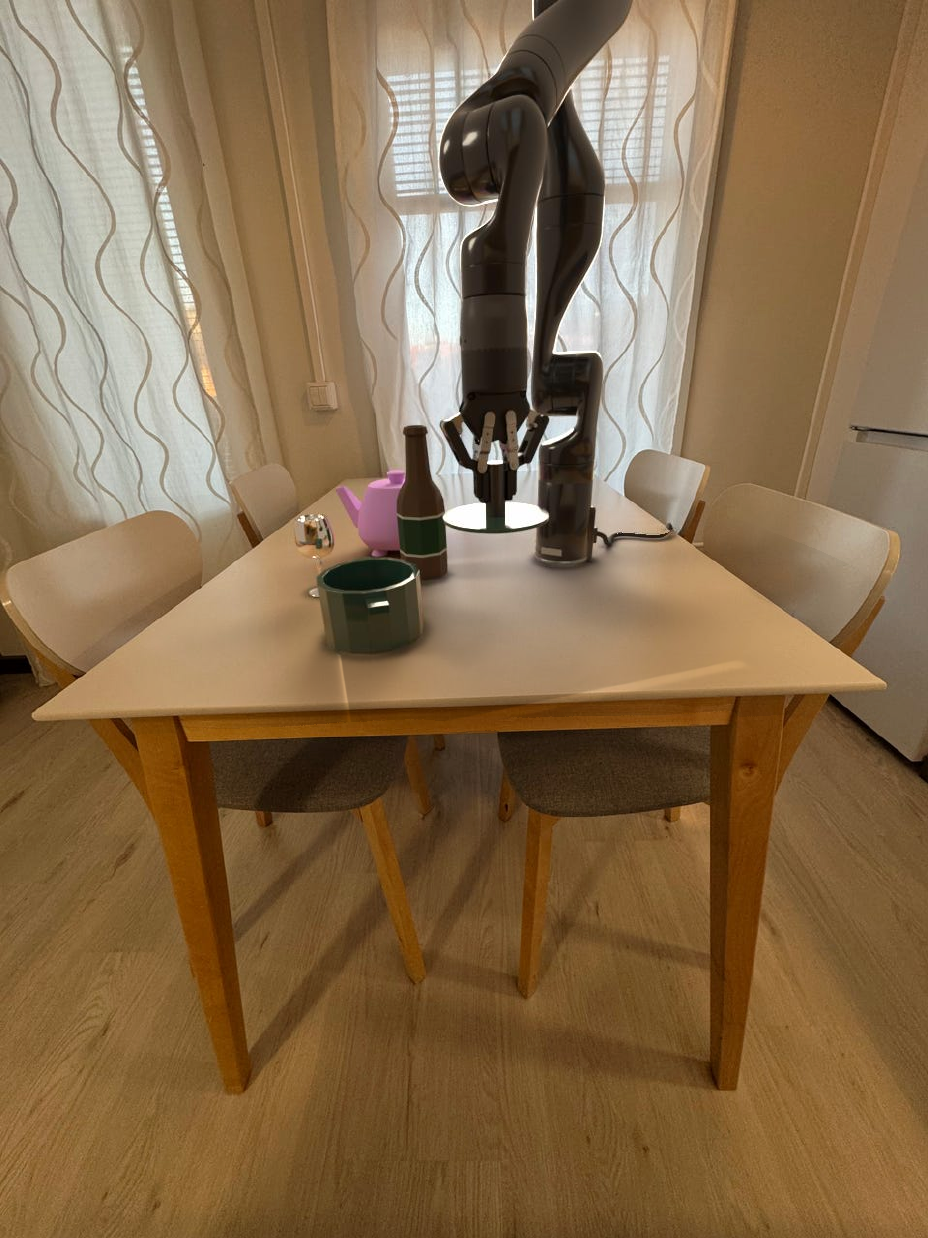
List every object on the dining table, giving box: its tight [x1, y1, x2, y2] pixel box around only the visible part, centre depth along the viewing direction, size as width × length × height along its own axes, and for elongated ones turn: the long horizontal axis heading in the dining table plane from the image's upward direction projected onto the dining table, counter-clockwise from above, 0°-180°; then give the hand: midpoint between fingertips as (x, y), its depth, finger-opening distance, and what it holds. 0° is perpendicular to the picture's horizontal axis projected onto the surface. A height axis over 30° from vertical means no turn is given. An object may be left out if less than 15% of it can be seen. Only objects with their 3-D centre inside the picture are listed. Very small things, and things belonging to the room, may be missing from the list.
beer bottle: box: [397, 424, 448, 582], centre depth 80 cm, size 8×8×24 cm
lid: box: [443, 460, 549, 535], centre depth 63 cm, size 14×14×8 cm
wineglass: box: [294, 513, 335, 598], centre depth 78 cm, size 6×6×12 cm
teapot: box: [335, 469, 406, 558], centre depth 98 cm, size 20×20×15 cm
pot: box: [315, 556, 425, 655], centre depth 64 cm, size 13×18×8 cm
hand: (495, 500), depth 64 cm, fingers closed on lid, 2 cm apart
